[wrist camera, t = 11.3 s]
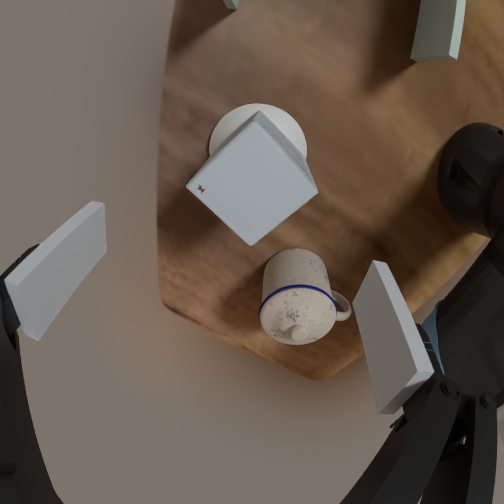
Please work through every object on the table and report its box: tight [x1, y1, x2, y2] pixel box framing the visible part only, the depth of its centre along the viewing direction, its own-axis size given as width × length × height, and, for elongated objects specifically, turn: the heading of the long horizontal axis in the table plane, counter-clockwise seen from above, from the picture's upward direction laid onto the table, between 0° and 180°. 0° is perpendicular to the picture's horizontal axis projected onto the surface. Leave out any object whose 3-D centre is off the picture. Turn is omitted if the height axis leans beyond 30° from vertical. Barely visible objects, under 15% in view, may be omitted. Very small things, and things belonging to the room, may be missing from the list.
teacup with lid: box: [259, 248, 351, 345], centre depth 37 cm, size 12×9×12 cm
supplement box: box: [186, 110, 318, 246], centre depth 27 cm, size 7×7×13 cm
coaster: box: [209, 103, 307, 160], centre depth 33 cm, size 11×11×1 cm
